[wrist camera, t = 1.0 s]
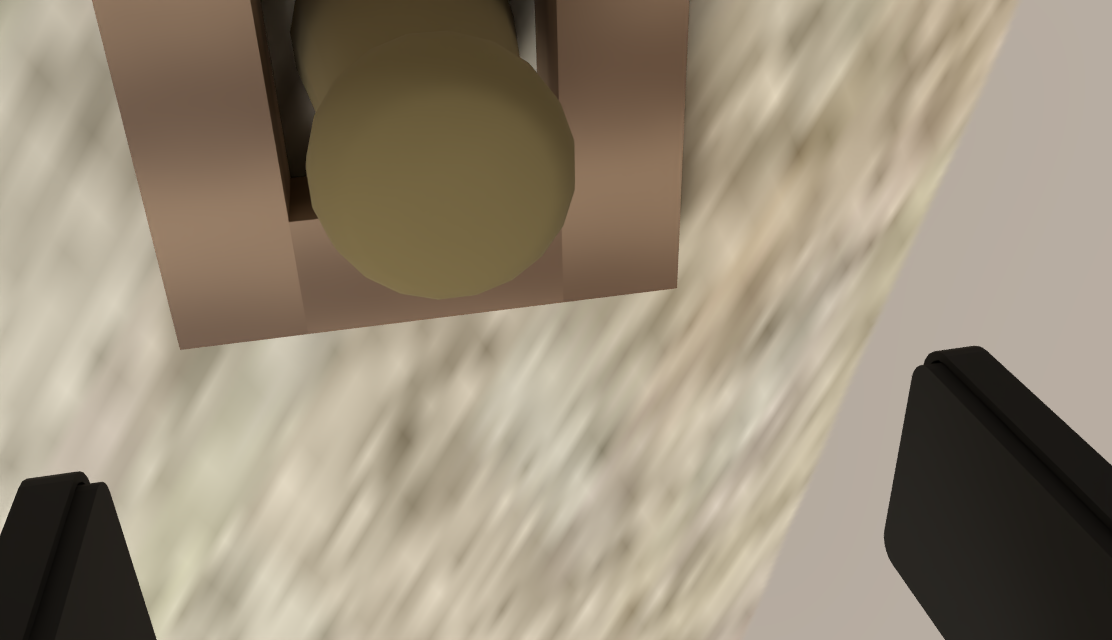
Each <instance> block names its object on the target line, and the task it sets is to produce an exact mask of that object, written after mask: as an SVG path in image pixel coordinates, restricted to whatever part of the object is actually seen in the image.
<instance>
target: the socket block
mask: <svg viewBox="0 0 1112 640" xmlns="http://www.w3.org/2000/svg"><path fill="white" fill-rule="evenodd" d="M92 2H93V6H94V10H95V14H96V18H97V22H98V26H99V30H100V34H101V38H102V42H103V46H104V50H105V54H106V58H107V62H108V66H109V70H110V74H111V77H112V81H113V85H114V89H115V93H116V97H117V101H118V105H119V109H120V113H121V117H122V121H123V125H124V129H125V133H126V137H127V141H128V145H129V149H130V153H131V157H132V161H133V165H134V169H135V173H136V177H137V181H138V184H139V188H140V192H141V196H142V200H143V204H144V208H145V212H146V216H147V220H148V224H149V228H150V232H151V236H152V240H153V244H154V248H155V252H156V256H157V260H158V264H159V268H160V272H161V276H162V280H163V284H164V288H165V291H166V295H167V299H168V303H169V307H170V311H171V315H172V319H173V323H174V327H175V331H176V335H177V339H178V343H179V347H180V350H183V349H191V348H199V347H207V346H215V345H223V344H231V343H239V342H247V341H255V340H263V339H271V338H279V337H287V336H295V335H303V334H311V333H320V332H328V331H336V330H344V329H352V328H360V327H368V326H376V325H384V324H392V323H400V322H408V321H416V320H424V319H432V318H440V317H448V316H456V315H464V314H472V313H481V312H489V311H497V310H505V309H513V308H521V307H529V306H537V305H545V304H553V303H561V302H569V301H577V300H585V299H593V298H601V297H609V296H617V295H625V294H633V293H642V292H650V291H658V290H666V289H674V288H677V275H678V252H679V228H680V205H681V182H682V159H683V136H684V113H685V89H686V66H687V43H688V20H689V0H535V23H536V53H537V74H538V75H539V76H540V77H541V79H542V80H543V81H544V82H545V83H546V85H547V86H548V87H549V88H550V90H551V91H552V92H553V93H554V95H555V96H556V97H557V99H558V100H559V102H560V103H561V105H562V108H563V111H564V113H565V116H566V119H567V122H568V124H569V127H570V130H571V133H572V135H573V138H574V144H575V191H574V194H573V197H572V200H571V203H570V207H569V210H568V213H567V216H566V219H565V223H564V226H563V227H562V229H561V230H560V231H559V233H558V234H557V236H556V237H555V239H554V240H553V241H552V243H551V244H550V246H549V247H548V249H547V250H546V251H545V253H544V254H543V256H542V257H541V258H539V259H538V260H537V261H536V262H534V263H533V264H532V265H531V266H529V267H528V268H527V269H526V270H524V271H523V272H522V273H521V274H519V275H518V276H517V277H516V278H514V279H513V280H511V281H509V282H507V283H504V284H502V285H499V286H497V287H495V288H492V289H490V290H487V291H485V292H483V293H480V294H478V295H472V296H464V297H456V298H448V299H440V300H437V299H431V298H424V297H418V296H411V295H405V294H400V293H398V292H396V291H393V290H391V289H389V288H387V287H385V286H383V285H381V284H379V283H376V282H374V281H372V280H370V279H368V278H366V277H365V276H364V275H363V274H361V273H360V272H359V271H358V270H357V269H356V268H355V267H354V266H353V265H352V264H351V263H350V262H349V261H347V260H346V259H345V258H344V257H343V256H342V255H341V254H340V253H339V252H338V251H337V250H336V248H335V247H334V246H333V244H332V243H331V241H330V239H329V237H328V236H327V234H326V232H325V230H324V228H323V226H322V224H321V223H320V221H319V219H318V217H317V215H316V213H315V212H314V210H313V208H312V203H311V197H310V190H309V184H308V178H307V176H304V177H294V178H291V177H290V172H289V166H288V160H287V154H286V148H285V142H284V136H283V130H282V124H281V118H280V112H279V106H278V101H277V95H276V89H275V83H274V77H273V71H272V65H271V59H270V53H269V47H268V41H267V35H266V30H265V24H264V18H263V12H262V6H261V0H92Z"/></svg>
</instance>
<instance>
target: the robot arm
mask: <svg viewBox="0 0 1112 640" xmlns="http://www.w3.org/2000/svg"><path fill="white" fill-rule="evenodd" d="M884 541H885V547H886V552H887V554H888V557H889V559H890V561H891V563H892V564H893V566H894V567H895V569H896V570H897V571H898V573H899V574H900V576H901V577H902V579H903V580H904V581H905V583H906V584H907V586H908V587H909V589H910V590H911V591H912V593H913V594H914V596H915V597H916V599H917V600H918V602H919V603H920V604H921V606H922V607H923V609H924V610H925V611H926V613H927V615H928V616H929V617H930V619H931V620H932V621H933V623H934V625H935V626H936V627H937V629H938V630H939V632H940V633H941V635H942V636H943V637H944V639H945V640H1112V465H1111V464H1109V463H1108V462H1107V461H1106V460H1105V459H1104V458H1103V457H1102V456H1101V455H1100V454H1099V453H1097V452H1096V451H1095V450H1094V449H1093V448H1092V447H1091V446H1090V445H1089V444H1087V442H1086V441H1084V440H1083V439H1082V438H1081V437H1080V436H1079V435H1078V434H1077V433H1076V432H1075V431H1074V430H1072V429H1071V428H1070V427H1069V426H1068V425H1067V424H1066V423H1065V422H1064V421H1063V420H1062V419H1060V418H1059V417H1058V416H1057V415H1056V414H1055V413H1054V412H1053V411H1052V410H1051V409H1050V408H1048V407H1047V406H1046V405H1045V404H1044V403H1043V402H1042V401H1041V400H1040V399H1039V398H1038V397H1037V396H1035V395H1034V394H1033V393H1032V392H1031V391H1030V390H1029V389H1028V388H1027V387H1026V386H1025V385H1024V384H1022V383H1021V382H1020V381H1019V380H1018V379H1017V378H1016V377H1015V376H1014V375H1012V373H1010V372H1009V371H1008V370H1007V369H1006V368H1005V367H1004V366H1003V365H1002V364H1001V363H1000V362H998V361H997V360H996V359H995V358H994V357H993V356H992V355H991V354H989V352H988V351H986V350H985V349H983V348H982V347H979V346H969V347H963V348H955V349H949V350H942V351H935V352H932V353H930V354H929V355H928V356H927V358H926V359H925V362H924V365H920V366H918V367H917V368H916V369H915V370H914V372H913V376H912V380H911V385H910V391H909V397H908V403H907V408H906V414H905V419H904V424H903V430H902V435H901V441H900V446H899V452H898V458H897V463H896V469H895V474H894V480H893V485H892V491H891V497H890V502H889V508H888V513H887V519H886V524H885V530H884ZM0 640H157V639H156V636H155V633H154V630H153V627H152V624H151V620H150V617H149V614H148V611H147V608H146V605H145V601H144V598H143V595H142V592H141V589H140V586H139V582H138V579H137V576H136V573H135V570H134V567H133V563H132V560H131V557H130V554H129V551H128V548H127V544H126V541H125V538H124V535H123V532H122V529H121V525H120V522H119V519H118V516H117V513H116V510H115V506H114V503H113V500H112V497H111V494H110V491H109V489H108V486H107V485H106V484H105V483H104V482H98V483H91V484H90V482H89V480H88V478H87V476H86V475H85V474H84V473H83V472H80V471H79V472H71V473H64V474H57V475H50V476H43V477H36V478H29V479H26V480H24V481H22V483H21V485H20V486H19V488H18V491H17V494H16V496H15V499H14V501H13V504H12V506H11V509H10V512H9V514H8V517H7V519H6V522H5V524H4V527H3V530H2V532H1V535H0Z"/></svg>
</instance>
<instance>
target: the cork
mask: <svg viewBox="0 0 1112 640" xmlns="http://www.w3.org/2000/svg"><path fill="white" fill-rule="evenodd" d="M290 34H291V41H292V47H293V53H294V60H295V66H296V69H297V71H298V74H299V76H300V78H301V80H302V83H303V85H304V87H305V89H306V91H307V94H308V96H309V98H310V100H311V103H312V105H313V107H314V109H315V112H316V113H315V115H314V118H313V123H312V129H311V134H310V139H309V145H308V150H307V156H306V172H307V178H308V184H309V190H310V197H311V203H312V208H313V210H314V212H315V213H316V215H317V217H318V219H319V221H320V223H321V224H322V226H323V228H324V230H325V232H326V234H327V236H328V237H329V239H330V241H331V243H332V244H333V246H334V247H335V248H336V250H337V251H338V252H339V253H340V254H341V255H342V256H343V257H344V258H345V259H346V260H347V261H349V262H350V263H351V264H352V265H353V266H354V267H355V268H356V269H357V270H358V271H359V272H360V273H361V274H363V275H364V276H365V277H366V278H368V279H370V280H372V281H374V282H376V283H379V284H381V285H383V286H385V287H387V288H389V289H391V290H393V291H396V292H398V293H400V294H405V295H411V296H418V297H424V298H431V299H437V300H440V299H448V298H456V297H464V296H472V295H478V294H480V293H483V292H485V291H487V290H490V289H492V288H495V287H497V286H499V285H502V284H504V283H507V282H509V281H511V280H513V279H514V278H516V277H517V276H518V275H519V274H521V273H522V272H523V271H524V270H526V269H527V268H528V267H529V266H531V265H532V264H533V263H534V262H536V261H537V260H538V259H539V258H541V257H542V256H543V254H544V253H545V251H546V250H547V249H548V247H549V246H550V244H551V243H552V241H553V240H554V239H555V237H556V236H557V234H558V233H559V231H560V230H561V229H562V227H563V226H564V223H565V219H566V216H567V213H568V210H569V207H570V203H571V200H572V197H573V194H574V191H575V144H574V138H573V135H572V133H571V130H570V127H569V124H568V122H567V119H566V116H565V113H564V111H563V108H562V105H561V103H560V102H559V100H558V99H557V97H556V96H555V95H554V93H553V92H552V91H551V90H550V88H549V87H548V86H547V85H546V83H545V82H544V81H543V80H542V79H541V77H540V76H539V75H538V74H537V72H536V71H535V70H534V69H533V67H532V66H531V65H530V64H529V63H528V62H526V61H525V60H523V59H522V58H520V56H519V50H518V44H517V37H516V31H515V25H514V18H513V14H512V11H511V8H510V6H509V3H508V0H295V6H294V12H293V18H292V24H291V30H290Z"/></svg>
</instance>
